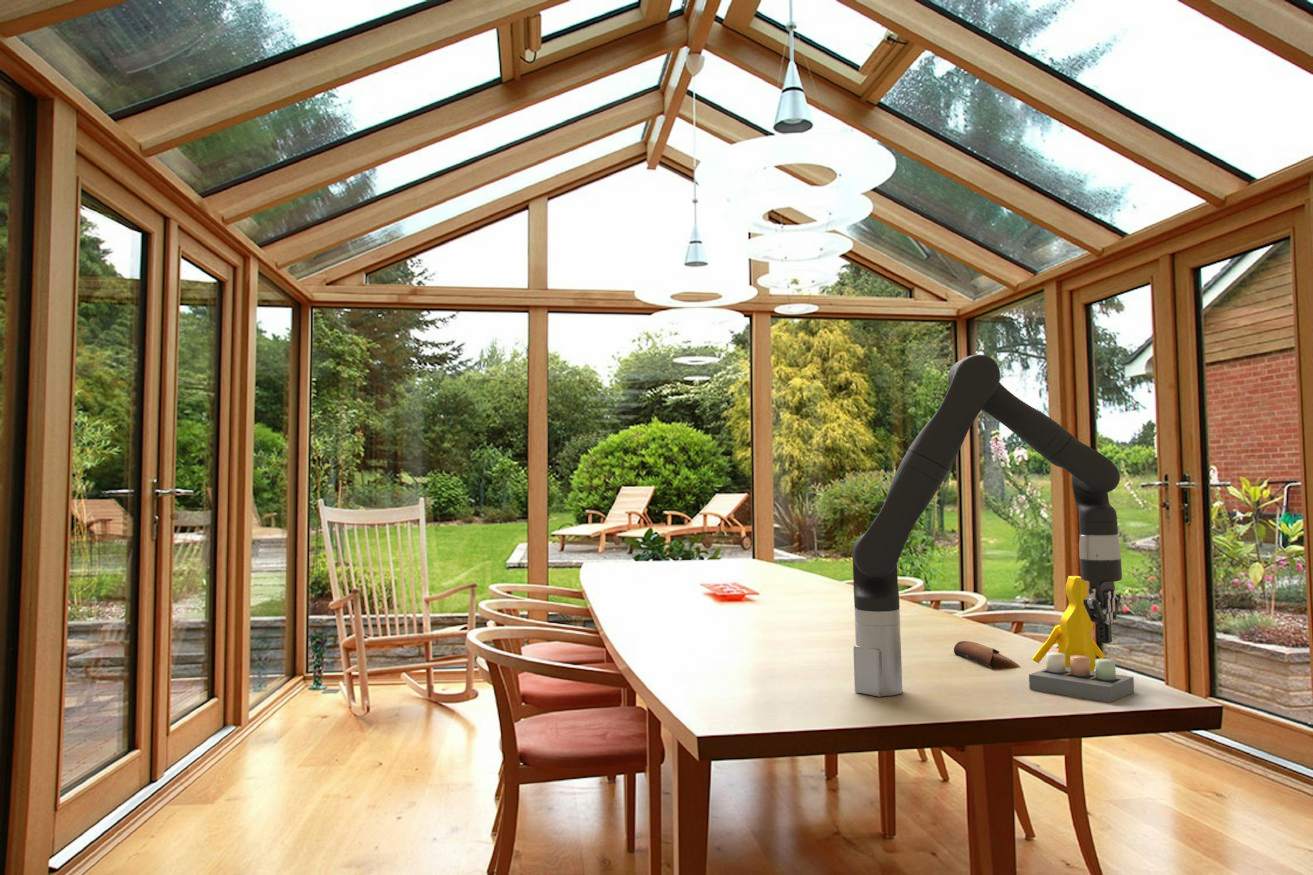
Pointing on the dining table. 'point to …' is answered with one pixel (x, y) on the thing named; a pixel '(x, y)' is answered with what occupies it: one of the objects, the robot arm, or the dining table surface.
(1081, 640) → the figure statuette
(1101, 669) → the sage button
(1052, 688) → the button box
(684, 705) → the dining table surface
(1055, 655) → the ivory button
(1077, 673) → the terracotta button
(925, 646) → the dining table surface
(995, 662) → the sunglasses case
